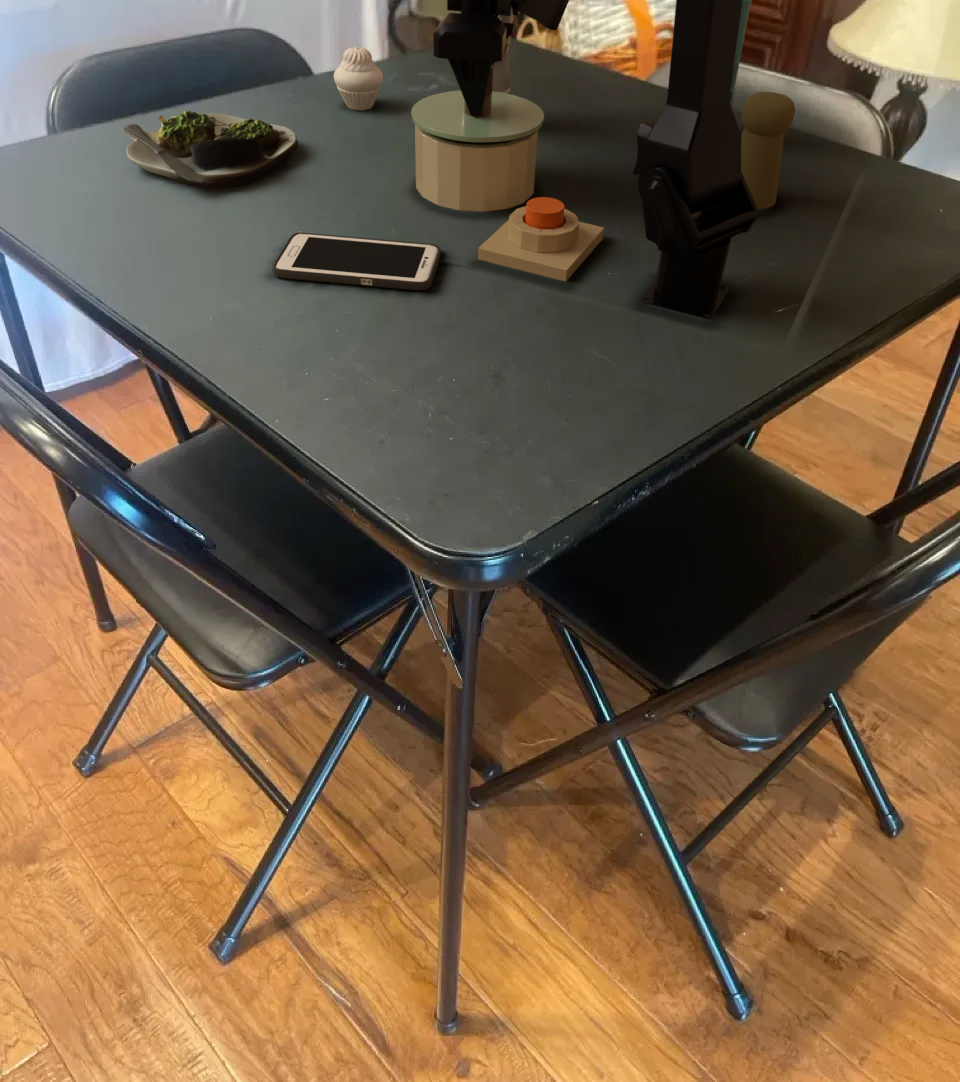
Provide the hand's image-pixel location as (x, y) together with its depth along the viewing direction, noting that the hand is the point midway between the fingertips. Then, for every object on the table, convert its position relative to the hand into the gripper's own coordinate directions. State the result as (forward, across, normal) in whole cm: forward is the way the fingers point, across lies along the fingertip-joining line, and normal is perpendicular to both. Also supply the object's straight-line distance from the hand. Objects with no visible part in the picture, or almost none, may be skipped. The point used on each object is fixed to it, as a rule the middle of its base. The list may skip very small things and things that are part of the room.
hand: (477, 110), depth 94 cm
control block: (+8, -13, -8) cm, 18 cm away
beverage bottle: (+9, +21, -25) cm, 34 cm away
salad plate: (+8, +2, +30) cm, 31 cm away
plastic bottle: (+8, +18, +2) cm, 20 cm away
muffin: (+8, +23, +18) cm, 30 cm away
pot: (+8, 0, 0) cm, 8 cm away
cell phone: (+8, -19, +8) cm, 23 cm away
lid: (+1, 0, 0) cm, 1 cm away
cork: (+9, +3, -29) cm, 31 cm away
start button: (+5, -13, -8) cm, 16 cm away
